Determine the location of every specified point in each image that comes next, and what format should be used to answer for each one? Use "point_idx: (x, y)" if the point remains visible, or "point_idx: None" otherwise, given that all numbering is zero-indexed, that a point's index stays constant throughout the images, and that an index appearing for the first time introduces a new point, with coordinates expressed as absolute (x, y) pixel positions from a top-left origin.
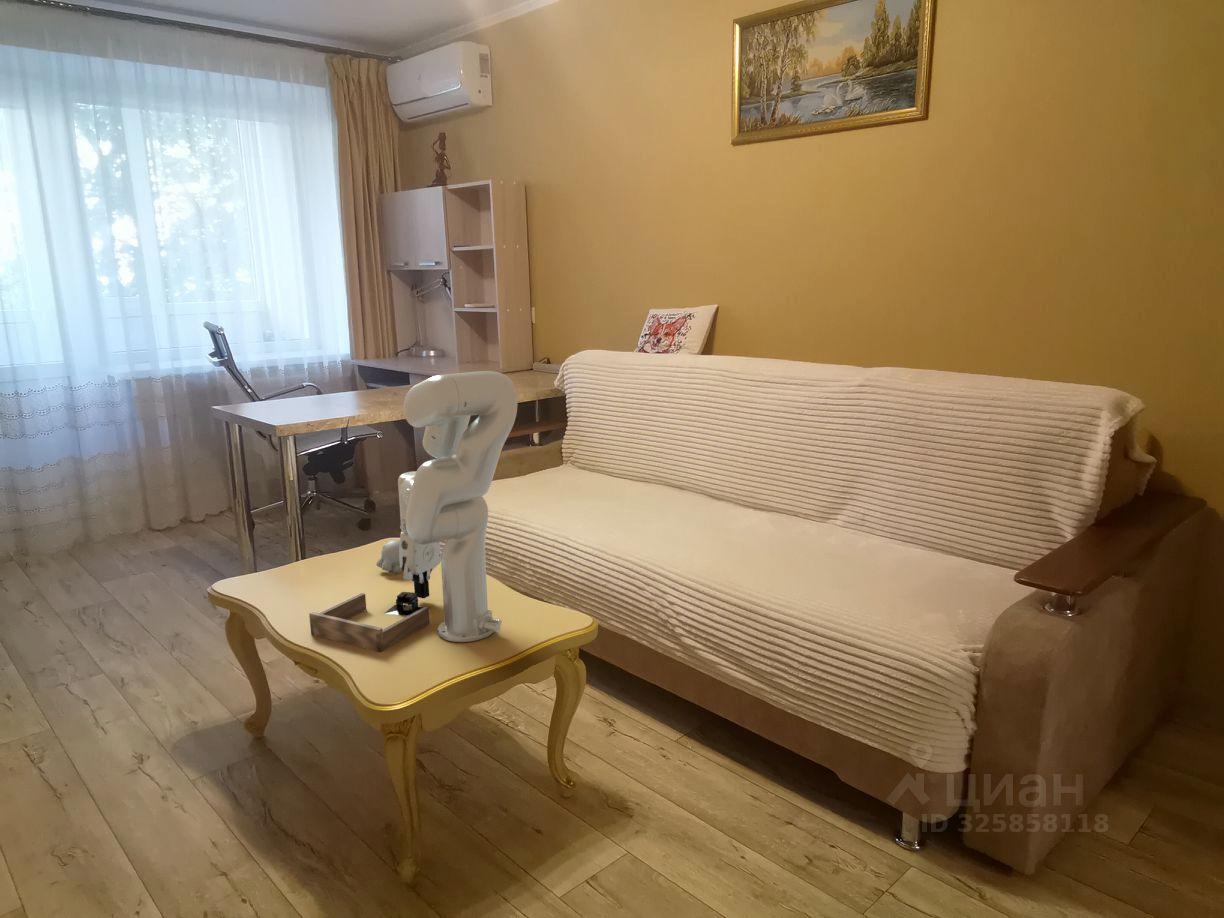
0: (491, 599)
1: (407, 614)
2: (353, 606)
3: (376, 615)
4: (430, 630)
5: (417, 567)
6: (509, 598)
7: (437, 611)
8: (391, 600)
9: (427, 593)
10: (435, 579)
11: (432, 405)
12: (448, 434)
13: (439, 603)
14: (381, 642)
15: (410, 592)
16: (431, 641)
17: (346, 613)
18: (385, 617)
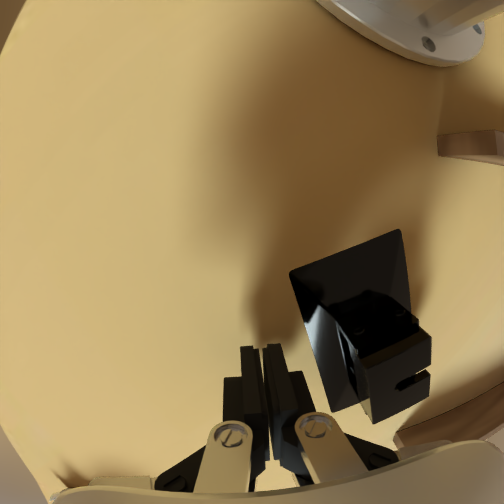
0: (52, 77)
1: (406, 300)
2: (451, 434)
3: (430, 380)
4: (466, 99)
5: (498, 485)
6: (27, 37)
7: (318, 198)
8: None
9: (254, 357)
10: (68, 432)
11: None
12: None
13: (222, 271)
14: None
15: (371, 393)
16: (496, 60)
17: (467, 416)
18: (440, 345)
